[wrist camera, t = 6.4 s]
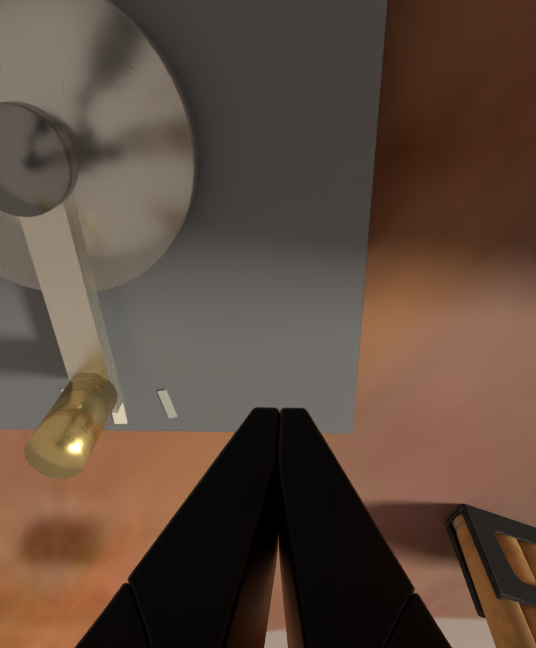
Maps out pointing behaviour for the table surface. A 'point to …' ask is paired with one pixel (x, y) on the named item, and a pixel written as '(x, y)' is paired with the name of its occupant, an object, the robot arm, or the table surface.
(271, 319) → the stand base
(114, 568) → the table surface
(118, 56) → the disc crank with handle
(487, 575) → the ammunition clip
